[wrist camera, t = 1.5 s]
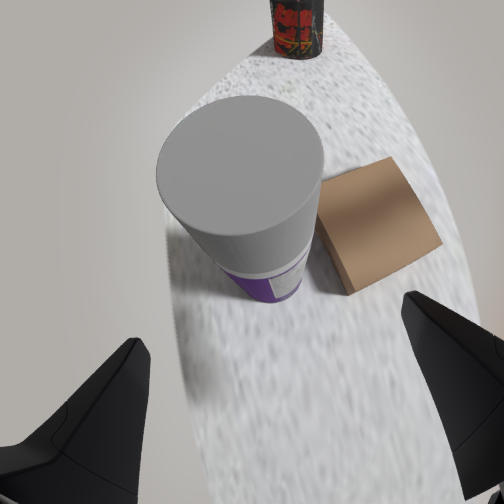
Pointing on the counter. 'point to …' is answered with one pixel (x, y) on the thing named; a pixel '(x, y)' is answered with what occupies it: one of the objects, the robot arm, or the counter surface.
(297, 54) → the deodorant
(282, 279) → the container
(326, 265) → the counter surface
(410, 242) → the base block
